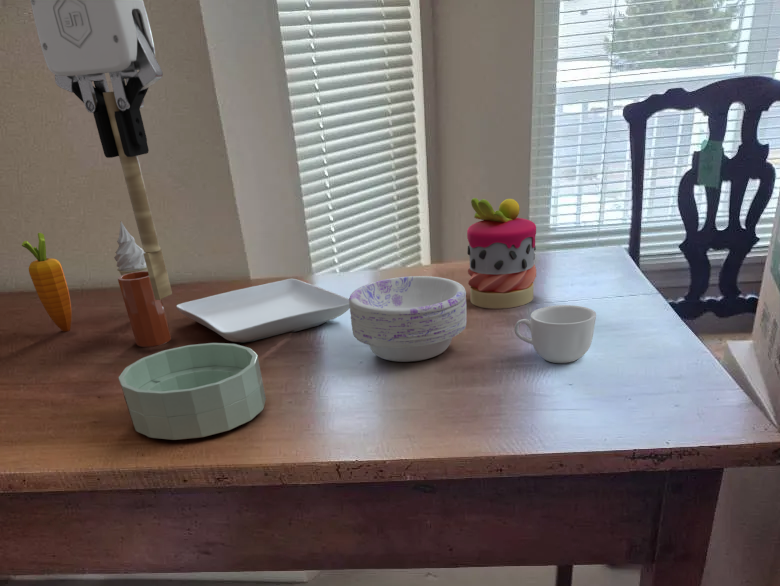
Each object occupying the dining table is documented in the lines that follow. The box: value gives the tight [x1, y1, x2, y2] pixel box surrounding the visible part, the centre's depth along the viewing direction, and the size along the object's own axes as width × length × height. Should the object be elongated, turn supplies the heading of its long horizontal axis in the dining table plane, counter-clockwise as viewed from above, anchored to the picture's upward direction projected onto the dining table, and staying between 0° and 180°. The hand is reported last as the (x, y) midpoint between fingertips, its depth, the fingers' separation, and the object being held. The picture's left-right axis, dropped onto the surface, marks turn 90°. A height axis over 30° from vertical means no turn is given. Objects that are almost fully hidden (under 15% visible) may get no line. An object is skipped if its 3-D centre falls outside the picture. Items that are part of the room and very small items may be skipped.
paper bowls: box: [348, 275, 468, 363], centre depth 96 cm, size 15×15×8 cm
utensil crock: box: [117, 271, 172, 348], centre depth 106 cm, size 5×5×10 cm
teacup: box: [514, 304, 597, 364], centre depth 91 cm, size 10×8×5 cm
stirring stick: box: [103, 90, 173, 300], centre depth 78 cm, size 2×2×20 cm
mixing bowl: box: [117, 342, 267, 441], centre depth 84 cm, size 15×15×6 cm
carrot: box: [21, 232, 73, 332], centre depth 113 cm, size 5×5×15 cm
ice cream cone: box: [114, 221, 148, 276], centre depth 117 cm, size 5×5×15 cm
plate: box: [175, 278, 350, 343], centre depth 113 cm, size 21×21×3 cm
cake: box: [466, 197, 537, 310], centre depth 111 cm, size 10×11×15 cm
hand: (127, 154), depth 75 cm, fingers closed on stirring stick, 1 cm apart
